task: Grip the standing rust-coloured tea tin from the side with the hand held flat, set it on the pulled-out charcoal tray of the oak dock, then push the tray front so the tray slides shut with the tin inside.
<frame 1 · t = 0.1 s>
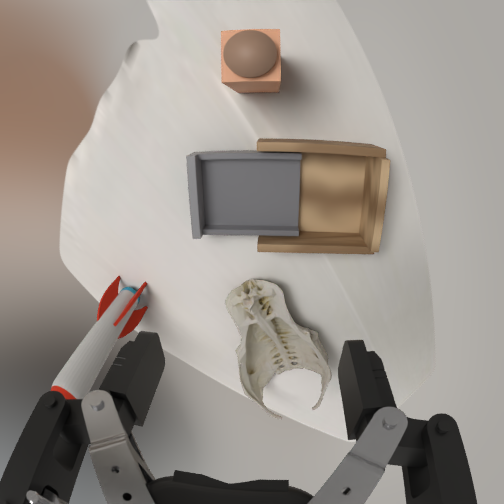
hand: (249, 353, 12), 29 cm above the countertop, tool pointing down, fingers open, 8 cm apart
tray: (245, 194, 36), point 3 cm above the countertop, slide at 8.0 cm
toy rocket: (133, 291, 48), on the countertop
dock: (315, 189, 38), on the countertop
tin: (258, 73, 32), on the countertop
anatomical model: (276, 335, 49), on the countertop
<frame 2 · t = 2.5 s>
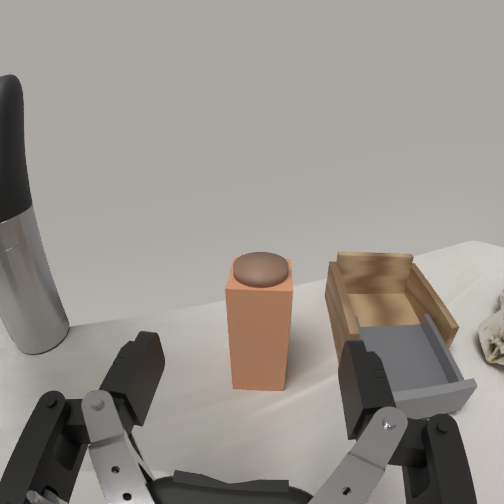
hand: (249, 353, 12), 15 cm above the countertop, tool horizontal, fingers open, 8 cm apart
tray: (407, 358, 26), point 3 cm above the countertop, slide at 8.0 cm
dock: (380, 327, 35), on the countertop
tin: (259, 371, 30), on the countertop
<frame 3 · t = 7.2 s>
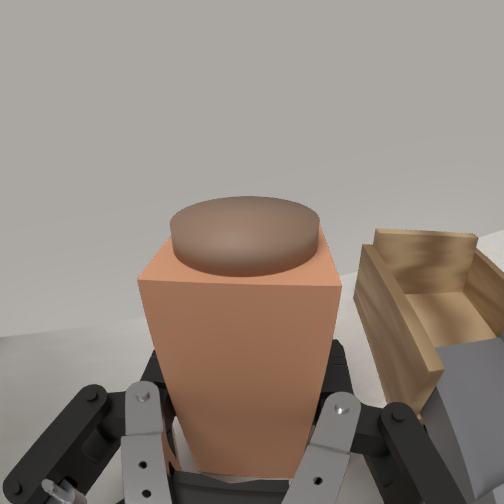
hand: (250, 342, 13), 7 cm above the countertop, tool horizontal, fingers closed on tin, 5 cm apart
dock: (441, 345, 20), on the countertop
tin: (250, 439, 14), on the countertop, touching gripper
when the fingers open (10 cm above the countertop, at t = 11.7 s): tin drops 1 cm, resting on tray.
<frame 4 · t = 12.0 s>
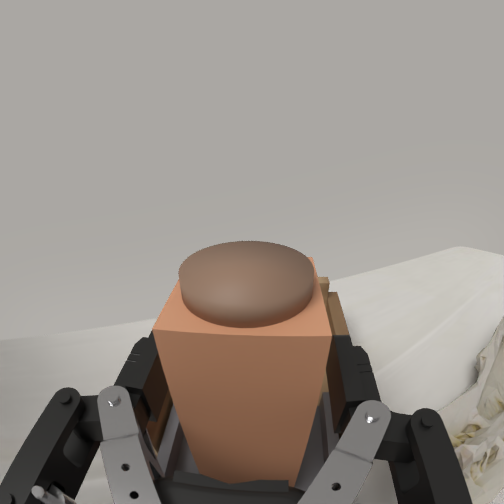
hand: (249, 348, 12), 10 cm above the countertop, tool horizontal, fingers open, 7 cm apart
tray: (247, 483, 12), point 3 cm above the countertop, slide at 7.9 cm, touching tin
dock: (257, 398, 22), on the countertop
tin: (251, 454, 15), point 2 cm above the countertop, touching tray
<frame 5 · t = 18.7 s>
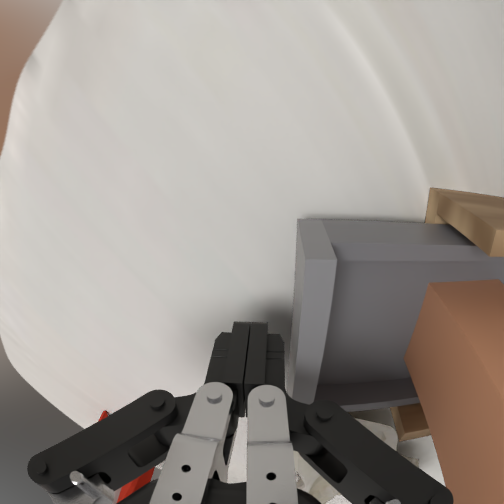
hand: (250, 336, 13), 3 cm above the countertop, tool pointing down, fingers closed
tray: (423, 336, 12), point 3 cm above the countertop, slide at 6.7 cm, touching gripper, tin
toy rocket: (133, 429, 24), on the countertop
dock: (494, 294, 15), on the countertop
tin: (453, 320, 13), point 2 cm above the countertop, touching tray
anatomical model: (350, 459, 25), on the countertop
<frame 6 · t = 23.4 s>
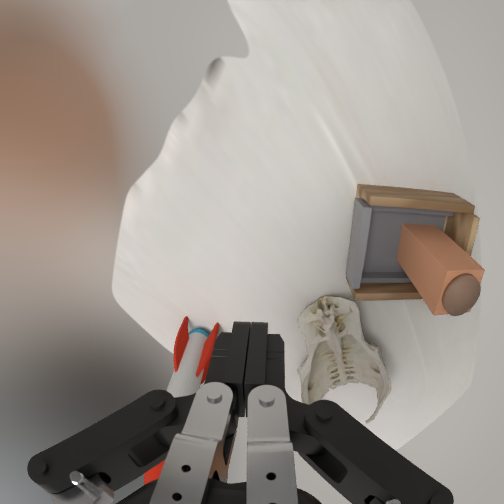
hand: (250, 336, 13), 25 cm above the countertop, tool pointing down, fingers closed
tray: (402, 245, 34), point 3 cm above the countertop, slide at 0.5 cm, touching tin
toy rocket: (201, 331, 46), on the countertop
dock: (402, 235, 37), on the countertop
tin: (415, 242, 35), point 2 cm above the countertop, touching tray
anatomical model: (337, 351, 46), on the countertop
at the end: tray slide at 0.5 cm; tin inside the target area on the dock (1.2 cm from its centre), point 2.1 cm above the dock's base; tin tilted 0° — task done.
